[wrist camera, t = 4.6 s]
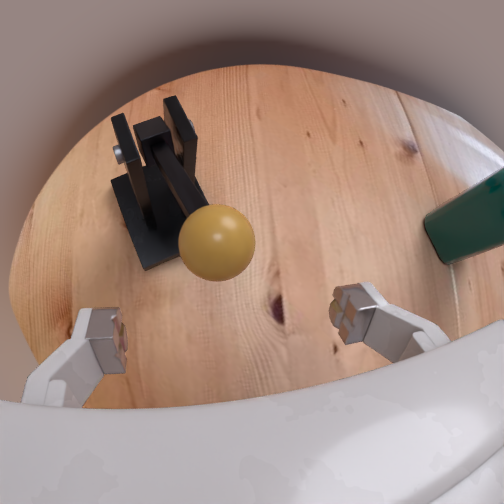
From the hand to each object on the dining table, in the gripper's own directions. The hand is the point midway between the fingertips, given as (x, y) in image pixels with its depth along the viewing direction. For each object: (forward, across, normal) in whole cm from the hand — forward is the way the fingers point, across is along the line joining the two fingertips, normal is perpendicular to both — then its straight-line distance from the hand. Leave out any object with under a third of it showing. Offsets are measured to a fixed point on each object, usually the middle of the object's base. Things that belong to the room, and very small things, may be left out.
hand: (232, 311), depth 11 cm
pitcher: (+20, -37, +9) cm, 43 cm away
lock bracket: (+23, +3, +5) cm, 24 cm away
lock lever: (+10, +1, 0) cm, 10 cm away
